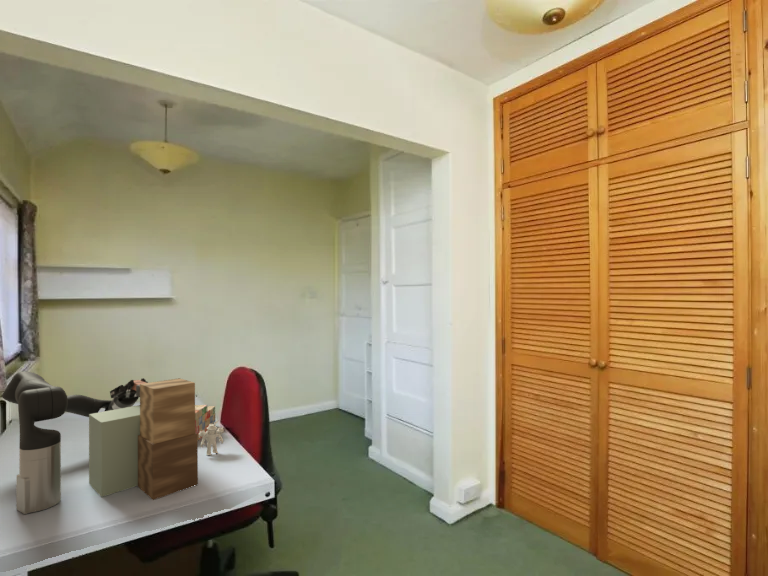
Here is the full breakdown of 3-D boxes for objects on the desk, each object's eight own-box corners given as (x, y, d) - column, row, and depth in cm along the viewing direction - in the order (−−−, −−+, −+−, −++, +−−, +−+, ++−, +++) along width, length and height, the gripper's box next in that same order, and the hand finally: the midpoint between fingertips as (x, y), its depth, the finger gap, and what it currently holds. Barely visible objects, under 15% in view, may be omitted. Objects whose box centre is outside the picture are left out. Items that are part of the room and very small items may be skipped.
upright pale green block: (89, 483, 134) (89, 414, 135) (168, 461, 152) (167, 399, 153) (101, 496, 125) (101, 422, 126) (184, 471, 143) (183, 406, 143)
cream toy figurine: (222, 449, 163) (222, 418, 163) (225, 452, 160) (225, 420, 160) (197, 455, 157) (197, 423, 158) (200, 458, 154) (200, 425, 154)
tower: (137, 486, 131) (137, 384, 132) (180, 473, 141) (180, 377, 142) (153, 500, 123) (152, 389, 123) (197, 484, 132) (197, 382, 133)
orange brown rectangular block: (121, 389, 151) (121, 379, 151) (145, 385, 157) (145, 376, 157) (144, 399, 135) (144, 388, 135) (170, 394, 141) (170, 384, 141)
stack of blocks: (202, 426, 193) (201, 399, 194) (215, 426, 193) (215, 399, 194) (180, 442, 172) (180, 412, 172) (196, 442, 172) (196, 412, 172)
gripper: (102, 393, 157) (114, 374, 147) (143, 386, 167) (157, 369, 157) (104, 412, 154) (117, 395, 144) (146, 404, 164) (161, 388, 154)
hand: (138, 381), depth 151 cm, fingers closed on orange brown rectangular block, 3 cm apart
